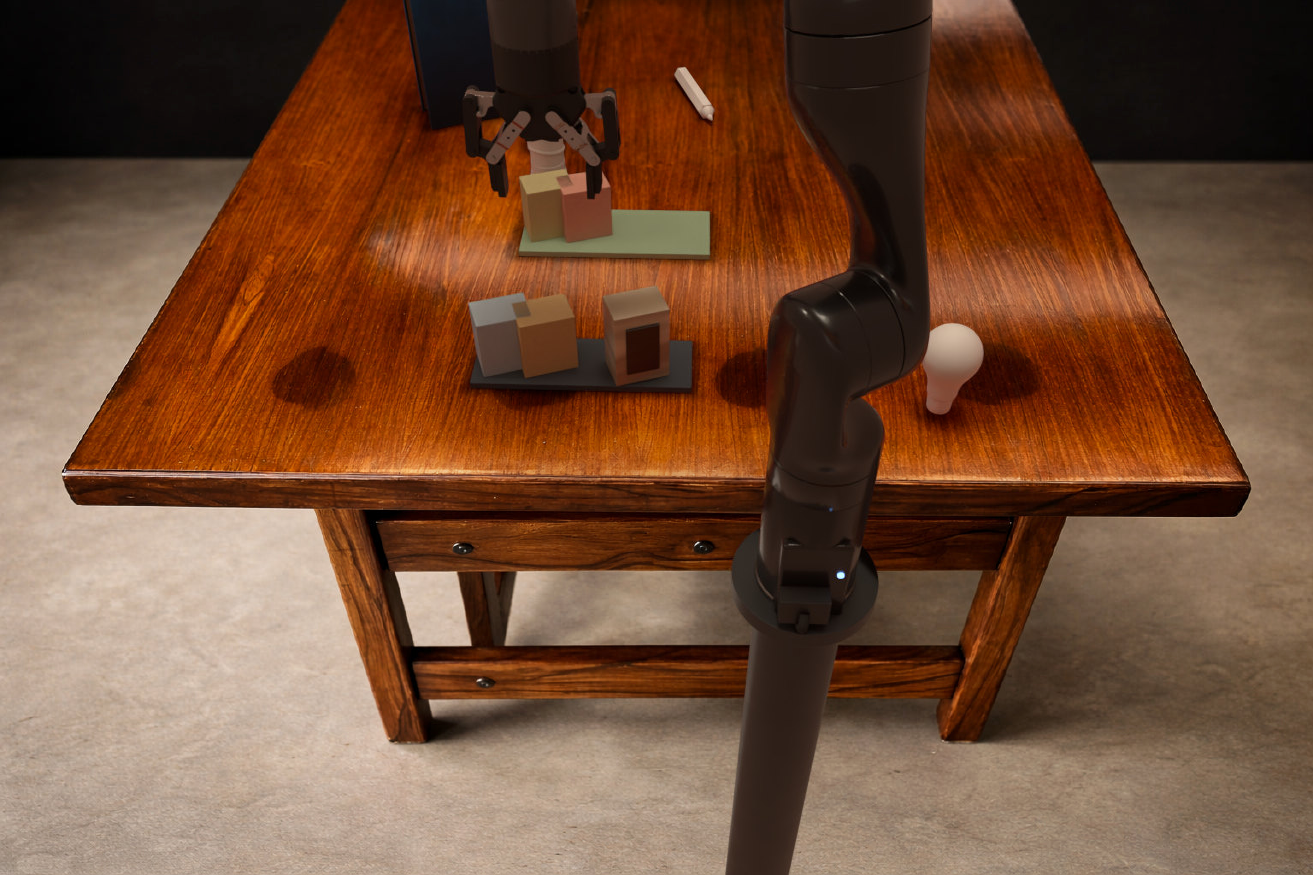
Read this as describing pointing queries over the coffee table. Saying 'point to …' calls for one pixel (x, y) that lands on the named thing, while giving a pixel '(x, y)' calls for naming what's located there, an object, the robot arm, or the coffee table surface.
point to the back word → (603, 223)
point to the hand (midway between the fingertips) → (548, 194)
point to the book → (450, 55)
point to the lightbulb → (950, 363)
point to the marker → (694, 93)
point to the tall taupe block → (636, 335)
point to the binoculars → (546, 156)
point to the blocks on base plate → (553, 350)
